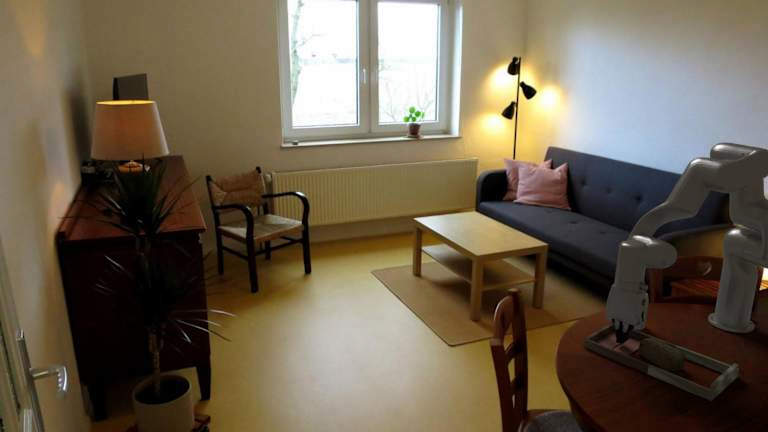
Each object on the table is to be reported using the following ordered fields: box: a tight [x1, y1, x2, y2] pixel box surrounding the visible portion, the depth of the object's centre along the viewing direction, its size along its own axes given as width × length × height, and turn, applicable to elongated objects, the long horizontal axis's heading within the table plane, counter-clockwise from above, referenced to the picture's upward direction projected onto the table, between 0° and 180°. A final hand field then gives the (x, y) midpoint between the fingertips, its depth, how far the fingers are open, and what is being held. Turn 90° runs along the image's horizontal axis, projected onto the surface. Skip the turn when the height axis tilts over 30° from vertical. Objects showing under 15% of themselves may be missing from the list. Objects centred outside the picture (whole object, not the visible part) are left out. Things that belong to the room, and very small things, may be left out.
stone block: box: [637, 337, 686, 373], centre depth 156 cm, size 6×12×5 cm, turn 22°
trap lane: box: [583, 322, 740, 402], centre depth 156 cm, size 17×36×4 cm, turn 39°
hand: (621, 341), depth 164 cm, fingers closed
